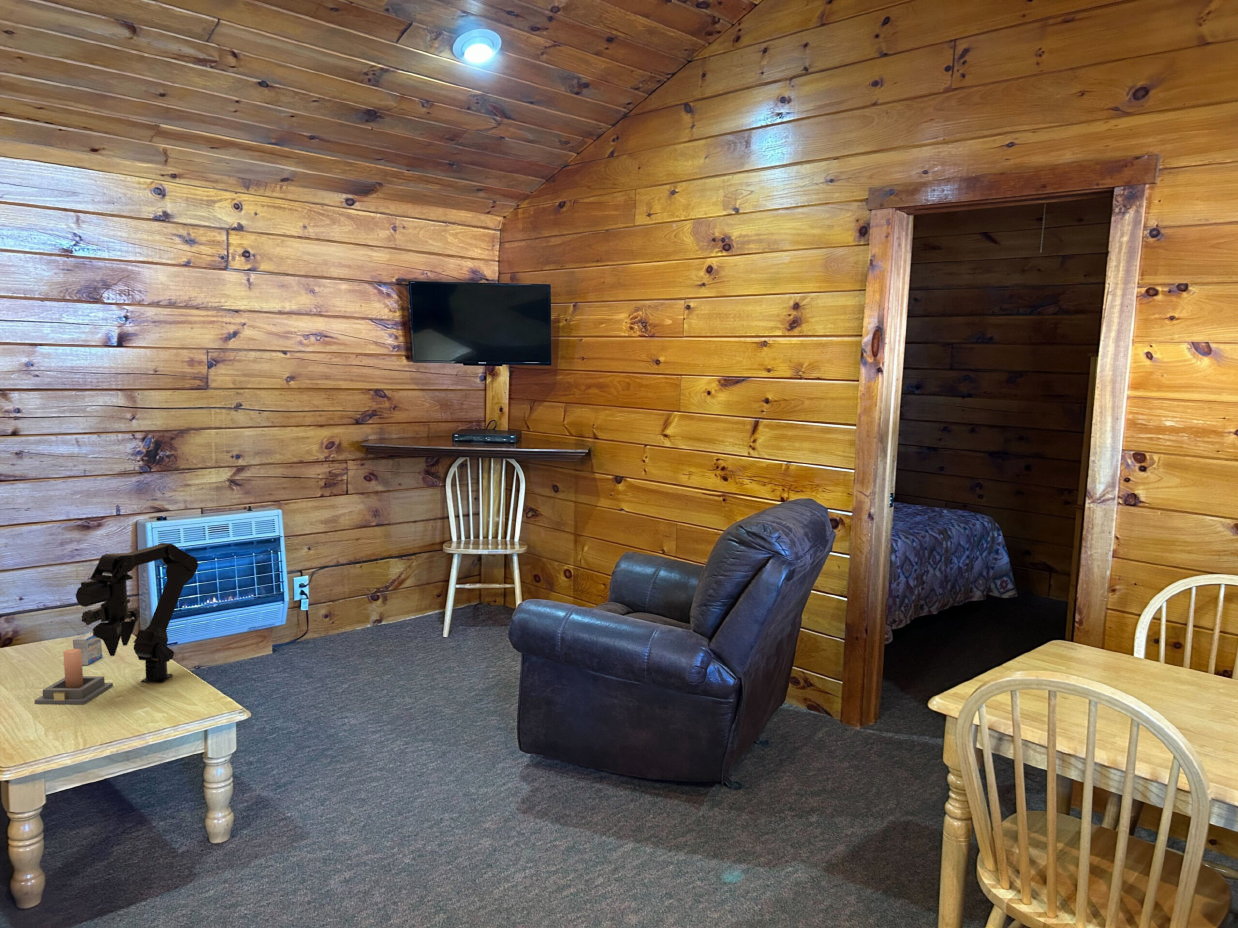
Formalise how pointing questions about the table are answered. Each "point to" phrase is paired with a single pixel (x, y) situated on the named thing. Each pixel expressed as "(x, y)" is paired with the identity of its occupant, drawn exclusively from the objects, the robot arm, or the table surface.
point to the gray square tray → (74, 691)
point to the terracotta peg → (73, 668)
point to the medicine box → (88, 647)
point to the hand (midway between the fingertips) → (118, 650)
